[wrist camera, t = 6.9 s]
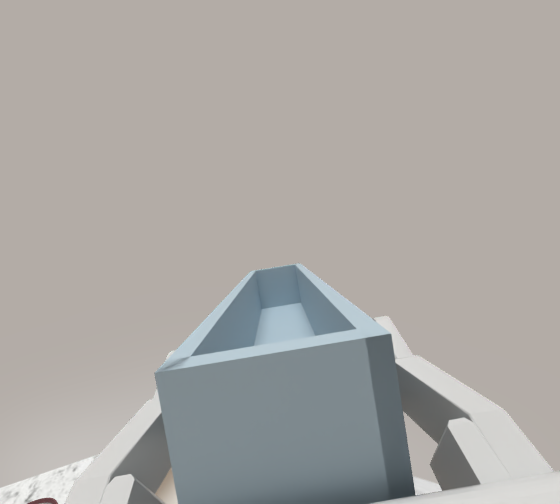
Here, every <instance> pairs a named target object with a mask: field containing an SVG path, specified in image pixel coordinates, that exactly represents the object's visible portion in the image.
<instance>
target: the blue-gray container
mask: <svg viewBox="0 0 560 504" xmlns="http://www.w3.org/2000/svg"><path fill="white" fill-rule="evenodd" d="M155 379H156V384H157V390H158V395H159V401H160V406H161V412H162V417H163V423H164V428H165V434H166V440H167V445H168V451H169V456H170V462H171V467H172V473H173V478H174V484H175V490H176V495H177V501H178V504H369V503H375V502H381V501H386V500H392V499H398V498H404V497H410V496H415V490H414V483H413V476H412V470H411V463H410V456H409V450H408V444H407V436H406V429H405V423H404V416H403V409H402V402H401V396H400V389H399V382H398V376H397V369H396V362H395V355H394V349H393V342H392V335H391V333H390V332H389V331H387V330H386V329H385V328H383V327H382V326H381V325H380V324H378V323H377V322H376V321H374V320H373V319H372V318H370V317H369V316H368V315H367V314H365V313H364V312H363V311H361V310H360V309H359V308H357V307H356V306H355V305H354V304H352V303H351V302H350V301H348V300H347V299H346V298H344V297H343V296H342V295H341V294H339V293H338V292H337V291H335V290H334V289H333V288H332V287H330V286H329V285H328V284H326V283H325V282H324V281H322V280H321V279H320V278H319V277H317V276H316V275H315V274H313V273H312V272H310V271H309V270H308V269H307V268H305V267H304V266H303V265H302V264H300V263H298V264H292V265H286V266H280V267H274V268H268V269H261V270H255V271H251V272H249V273H248V274H247V275H246V277H245V278H244V279H243V280H242V281H241V282H240V283H239V284H238V285H237V286H236V287H235V288H234V289H233V290H232V291H231V293H230V294H229V295H228V296H227V297H226V298H225V299H224V300H223V301H222V302H221V303H220V304H219V305H218V306H217V307H216V308H215V309H214V310H213V311H212V313H211V314H210V315H209V316H208V317H207V318H206V319H205V320H204V321H203V322H202V323H201V324H200V325H199V326H198V327H197V328H196V329H195V331H194V332H193V333H192V334H191V335H190V336H189V337H188V338H187V339H186V340H185V341H184V342H183V343H182V344H181V345H180V347H179V348H178V349H177V350H176V351H175V352H174V353H173V354H172V355H171V356H170V357H169V358H168V359H167V360H166V361H165V363H163V364H162V366H161V367H160V368H159V369H158V370H157V371H156V372H155Z"/></svg>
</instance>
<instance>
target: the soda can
mask: <svg viewBox="0 0 560 504" xmlns="http://www.w3.org/2000/svg"><path fill="white" fill-rule="evenodd" d="M28 504H58V503H57V501H56V500H55V499H53V498H42V499H38V500H35V501H32V502H30V503H28Z"/></svg>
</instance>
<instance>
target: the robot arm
mask: <svg viewBox="0 0 560 504" xmlns="http://www.w3.org/2000/svg"><path fill="white" fill-rule="evenodd" d="M372 319H373V320H374V321H376V322H377V323H378V324H380V325H381V326H382V327H383V328H385V329H386V330H387V331H389V332H390V333H391V335H392V342H393V349H394V355H395V362H396V369H397V376H398V382H399V389H400V396H401V402H402V409H403V411H404V412H405V413H406V414H407V415H408V416H409V417H410V418H411V419H412V420H413V421H414V422H415V423H417V424H418V425H419V426H420V427H421V428H422V429H423V430H424V431H425V432H426V433H427V434H428V435H429V436H430V437H431V438H432V439H433V440H435V441H436V442H437V443H438V446H437V449H436V451H435V453H434V455H433V458H432V460H431V463H430V466H431V468H432V470H433V472H434V474H435V476H436V478H437V480H438V483H439V485H440V487H441V489H442V491H439V492H433V493H427V494H421V495H415V496H410V497H404V498H398V499H392V500H386V501H381V502H375V503H369V504H560V471H555V472H554V470H553V469H552V468H551V467H550V466H549V464H548V463H547V462H546V461H545V459H544V458H543V457H542V456H541V454H540V453H539V452H538V451H537V449H536V448H535V447H534V446H533V445H532V443H531V442H530V441H529V439H528V438H527V437H526V436H525V434H524V433H523V432H522V431H521V430H520V428H519V427H518V426H517V425H516V423H515V422H514V421H513V420H512V418H511V417H510V416H509V415H508V413H507V412H506V411H505V410H504V409H502V408H501V407H500V406H498V405H496V404H495V403H493V402H492V401H490V400H488V399H487V398H485V397H484V396H482V395H480V394H479V393H477V392H476V391H474V390H472V389H471V388H469V387H468V386H466V385H465V384H463V383H461V382H460V381H458V380H457V379H455V378H454V377H452V376H450V375H449V374H447V373H446V372H444V371H443V370H441V369H439V368H438V367H436V366H434V365H433V364H432V363H430V362H428V361H427V360H425V359H423V358H422V357H420V356H419V355H415V356H414V355H413V354H412V352H411V351H410V349H409V348H408V346H407V344H406V343H405V341H404V340H403V338H402V336H401V335H400V333H399V332H398V330H397V329H396V327H395V326H394V324H393V322H392V321H391V319H390V318H389V317H388V316H383V317H377V318H372ZM175 351H176V350H175ZM175 351H170V353H169V354H168V355H167V358H166V360H167V359H168V358H169V357H170V356H171V355H172V354H173V353H174V352H175ZM170 468H171V462H170V456H169V451H168V445H167V440H166V434H165V428H164V423H163V417H162V412H161V406H160V401H159V395H158V390H157V388H156V391H155V394H154V397H153V399H151V400H148V401H147V402H146V403H145V404H144V405H143V406H142V407H141V408H140V410H139V411H138V412H137V413H136V414H135V415H134V416H133V418H132V419H131V420H130V421H129V422H128V423H127V424H126V425H125V426H124V427H123V428H122V430H121V431H120V432H119V433H118V434H117V435H116V437H114V439H113V440H112V441H111V442H110V443H109V444H108V445H107V446H106V447H105V448H104V450H103V451H102V452H101V453H100V454H99V455H98V456H97V457H96V458H95V460H94V461H93V462H92V463H91V464H90V465H89V466H88V467H87V468H86V470H85V471H84V472H83V473H82V474H81V475H80V476H79V477H78V478H77V480H76V481H75V482H74V484H73V486H72V488H71V491H70V493H69V495H68V497H67V499H66V501H65V503H64V504H166V503H165V502H163V501H162V500H161V499H160V498H159V497H158V496H156V495H155V493H156V492H157V490H158V488H159V487H160V485H161V483H162V482H163V480H164V478H165V477H166V475H167V473H168V472H169V470H170Z"/></svg>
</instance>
